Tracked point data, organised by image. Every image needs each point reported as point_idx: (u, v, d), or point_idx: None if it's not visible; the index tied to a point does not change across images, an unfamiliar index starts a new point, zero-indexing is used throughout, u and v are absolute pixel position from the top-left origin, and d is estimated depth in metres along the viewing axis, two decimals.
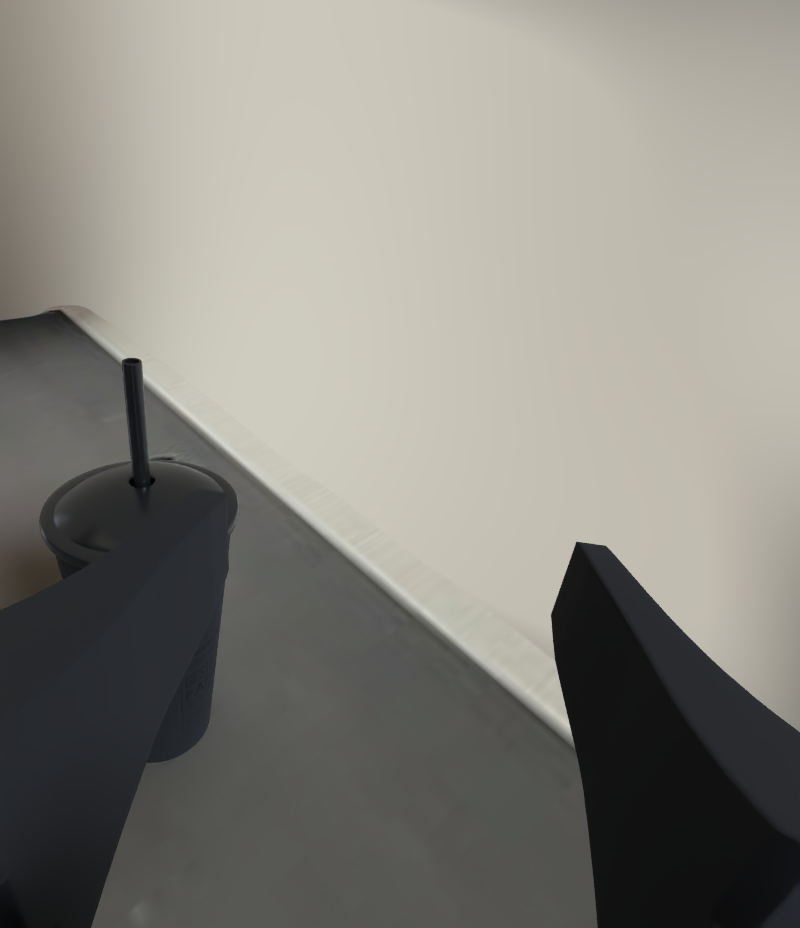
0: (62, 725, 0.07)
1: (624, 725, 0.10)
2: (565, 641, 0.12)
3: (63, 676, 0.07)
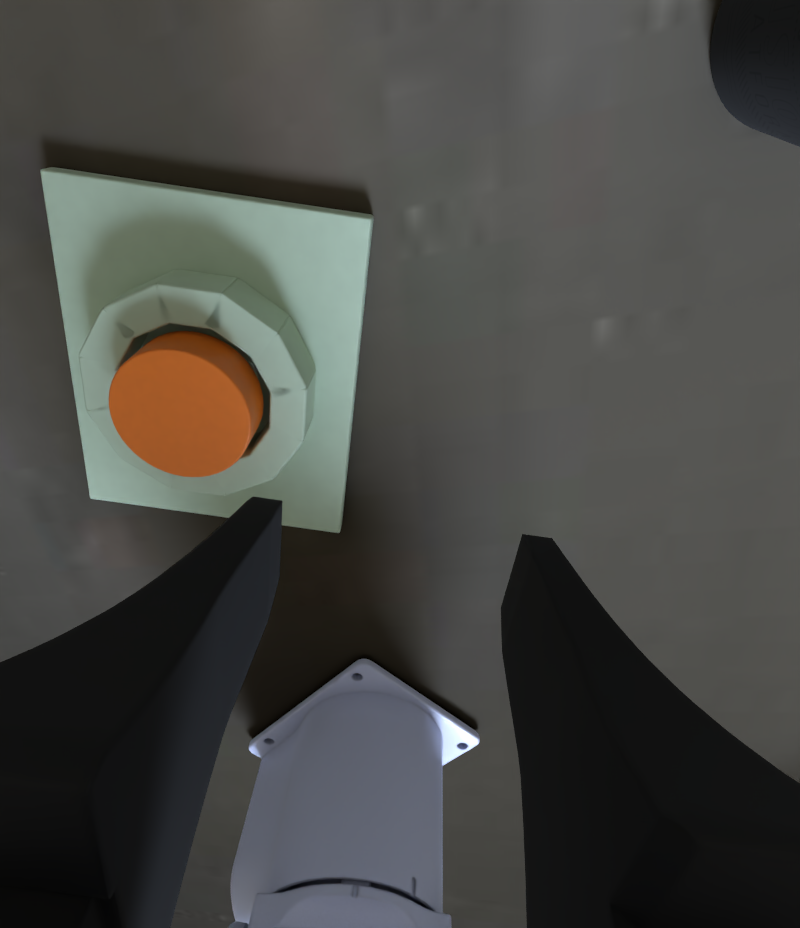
0: (157, 737, 0.07)
1: (554, 715, 0.10)
2: (510, 634, 0.12)
3: (160, 689, 0.07)
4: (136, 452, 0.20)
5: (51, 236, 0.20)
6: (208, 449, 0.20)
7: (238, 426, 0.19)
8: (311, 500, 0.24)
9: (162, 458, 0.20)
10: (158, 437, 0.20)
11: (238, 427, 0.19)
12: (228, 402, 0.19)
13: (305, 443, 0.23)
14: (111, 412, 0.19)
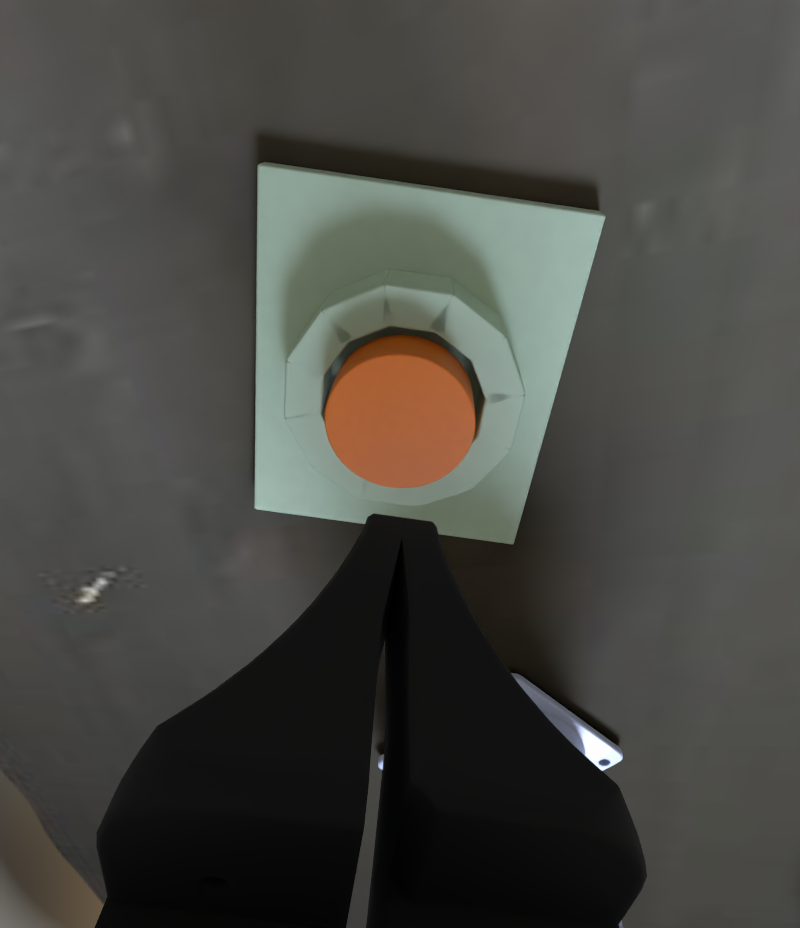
0: None
1: (397, 694, 0.09)
2: (389, 618, 0.12)
3: None
4: (346, 463, 0.19)
5: (258, 235, 0.19)
6: (423, 459, 0.19)
7: (460, 435, 0.18)
8: (489, 510, 0.23)
9: (372, 469, 0.19)
10: (372, 446, 0.19)
11: (461, 436, 0.18)
12: (455, 409, 0.18)
13: None
14: (327, 420, 0.18)
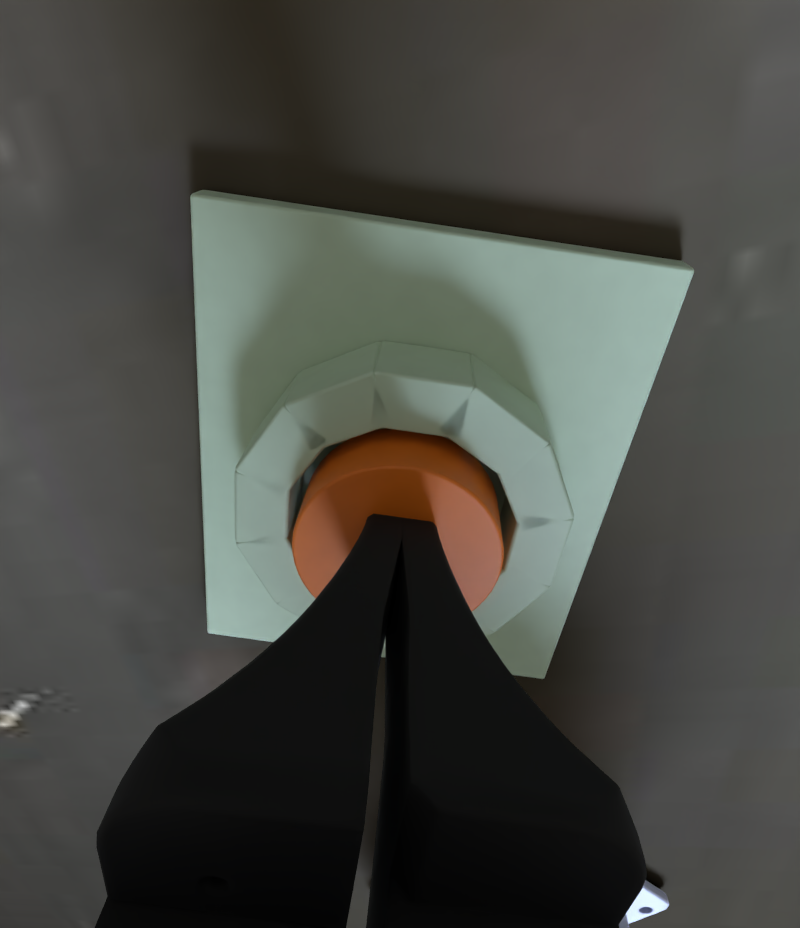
0: None
1: (398, 694, 0.09)
2: (389, 617, 0.12)
3: None
4: None
5: (196, 292, 0.13)
6: None
7: (482, 570, 0.13)
8: (514, 640, 0.18)
9: None
10: None
11: (483, 571, 0.13)
12: (475, 539, 0.13)
13: None
14: (295, 549, 0.13)
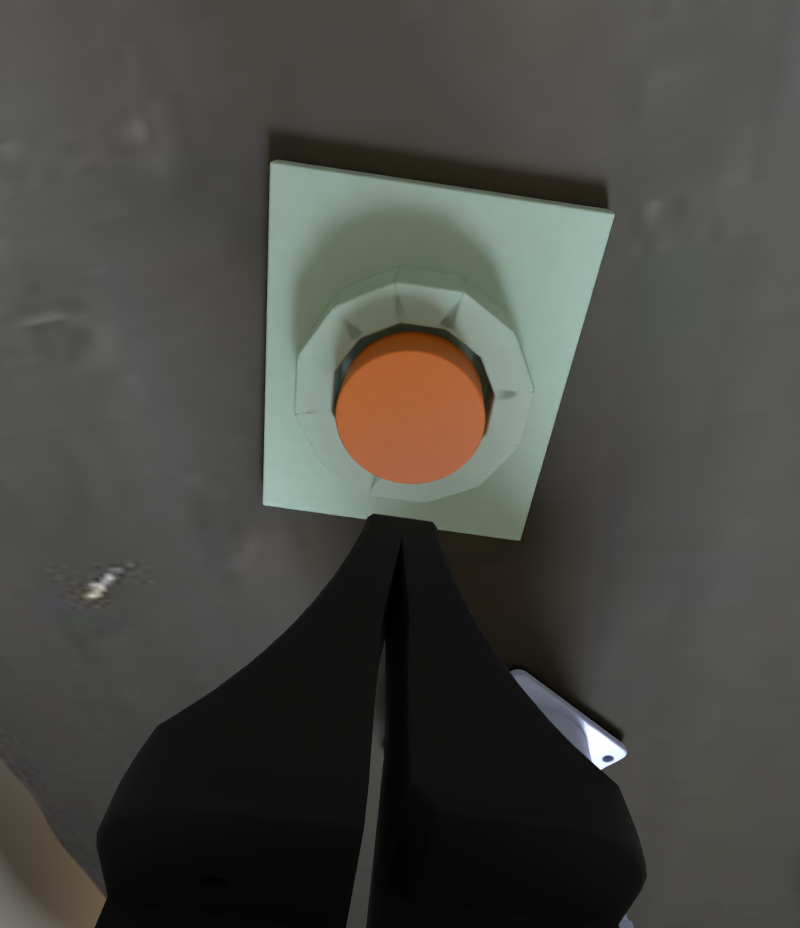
0: None
1: (398, 694, 0.09)
2: (389, 617, 0.12)
3: None
4: (356, 458, 0.19)
5: (270, 232, 0.19)
6: (433, 455, 0.19)
7: (470, 431, 0.18)
8: (496, 506, 0.23)
9: (382, 465, 0.19)
10: (382, 442, 0.19)
11: (470, 432, 0.18)
12: (465, 406, 0.18)
13: None
14: (338, 416, 0.18)
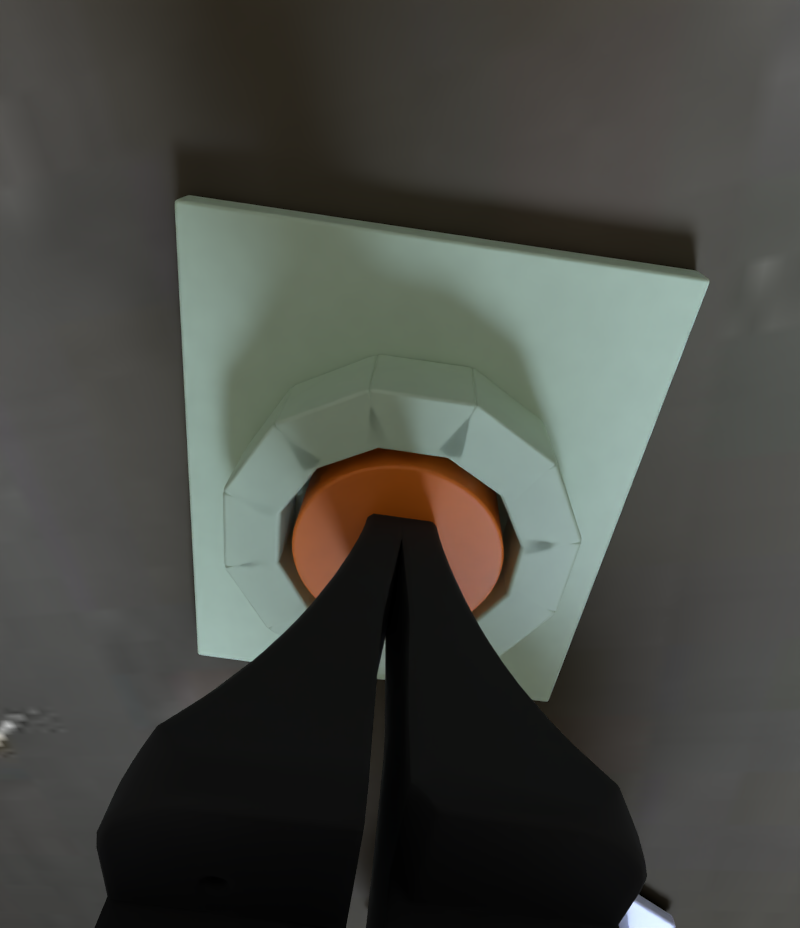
0: None
1: (398, 694, 0.09)
2: (389, 618, 0.12)
3: None
4: None
5: (181, 304, 0.12)
6: None
7: (482, 570, 0.13)
8: (517, 662, 0.17)
9: None
10: None
11: (483, 572, 0.13)
12: (475, 539, 0.13)
13: None
14: (295, 549, 0.13)
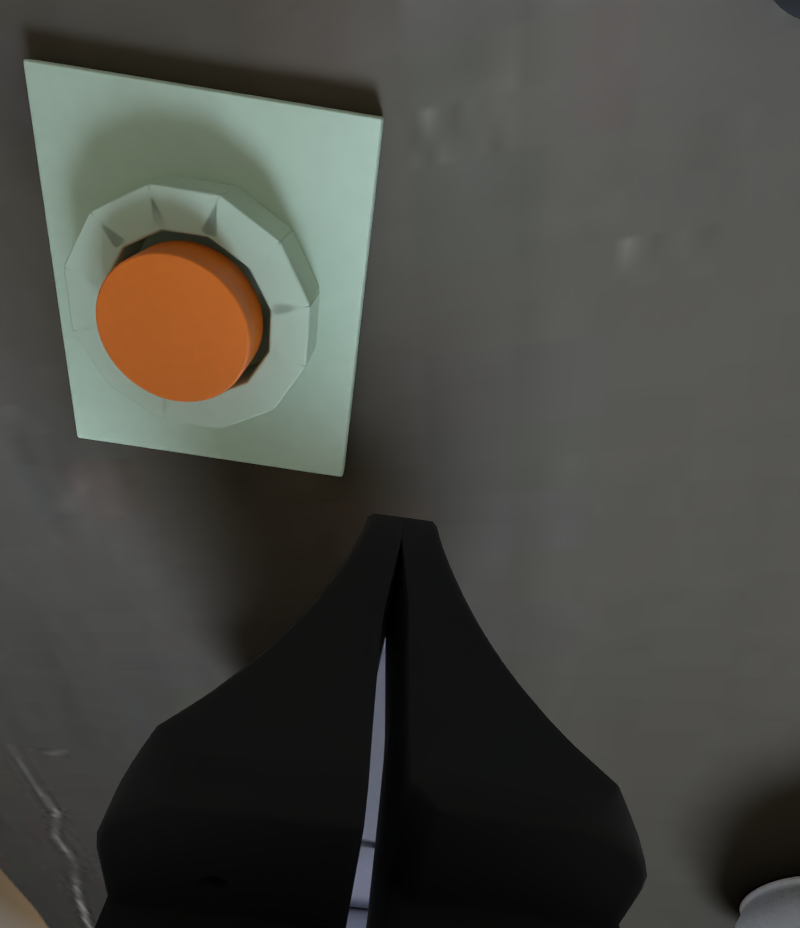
0: None
1: (398, 694, 0.09)
2: (389, 617, 0.12)
3: None
4: (126, 373, 0.18)
5: (35, 137, 0.18)
6: (203, 369, 0.18)
7: (236, 343, 0.18)
8: (312, 439, 0.23)
9: (154, 381, 0.19)
10: (149, 355, 0.18)
11: (236, 344, 0.18)
12: (225, 315, 0.17)
13: (307, 375, 0.21)
14: (99, 326, 0.18)
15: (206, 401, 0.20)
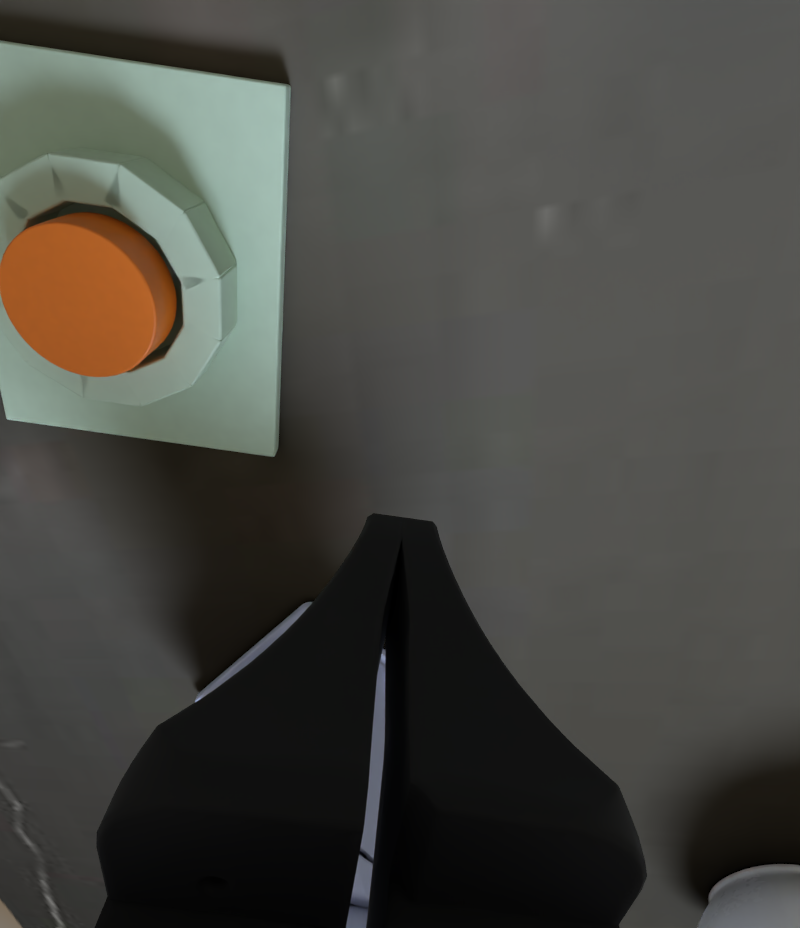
0: None
1: (398, 694, 0.09)
2: (389, 618, 0.12)
3: None
4: (35, 348, 0.18)
5: None
6: (112, 343, 0.18)
7: (142, 315, 0.18)
8: (241, 419, 0.23)
9: (64, 355, 0.18)
10: (57, 329, 0.18)
11: (142, 316, 0.18)
12: (129, 286, 0.17)
13: (231, 353, 0.21)
14: (4, 300, 0.18)
15: (124, 377, 0.20)
